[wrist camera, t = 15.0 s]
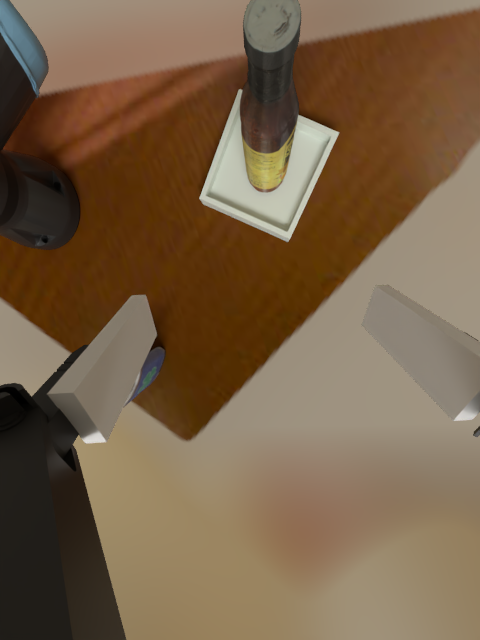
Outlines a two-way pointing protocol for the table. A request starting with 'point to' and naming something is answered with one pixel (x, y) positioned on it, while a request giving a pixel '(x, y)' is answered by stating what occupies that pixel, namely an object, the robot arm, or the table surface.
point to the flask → (147, 372)
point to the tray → (284, 202)
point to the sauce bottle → (269, 90)
